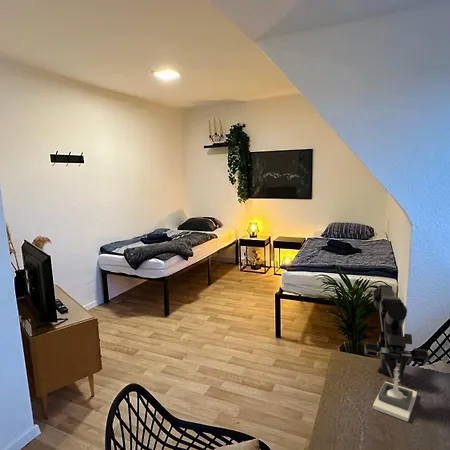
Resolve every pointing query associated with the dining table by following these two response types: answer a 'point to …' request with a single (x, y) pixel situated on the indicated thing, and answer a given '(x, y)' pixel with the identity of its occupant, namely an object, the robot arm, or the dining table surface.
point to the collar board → (395, 402)
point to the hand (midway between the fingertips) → (396, 379)
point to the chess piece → (396, 387)
